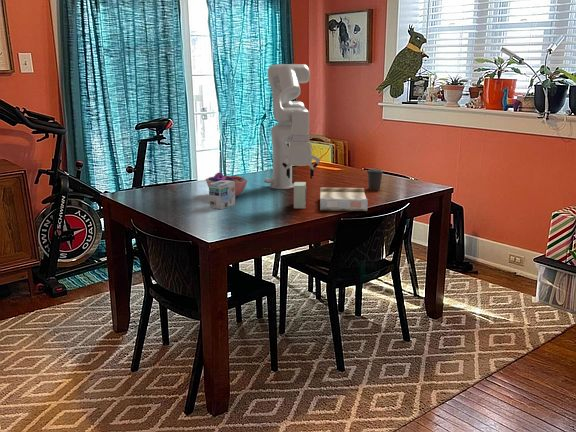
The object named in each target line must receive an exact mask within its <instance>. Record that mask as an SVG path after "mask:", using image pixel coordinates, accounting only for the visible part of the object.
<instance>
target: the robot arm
mask: <svg viewBox="0 0 576 432" xmlns="http://www.w3.org/2000/svg"><path fill="white" fill-rule="evenodd" d="M310 78H311V71H310V68H309V66H308V65H307V64H305V63H303V64H301V63H299V64H298V63H290V64H288V63H279V64H277V63H276V64H272V65H270V66H269V67H268V69H267V79H268V82H269V86H270V89H271V92H272V113H273V118H274V120H275V121H277V122H278V123H277V124H275V125H273V126H272V127H271V129H270V135H271V136H270V137H271V142H272V143H271V144H272V177H270V178H264V180H263V181H264V183H265V184H266V183H267V184H269V187H270V188H272V189H274V190H291V189H294V183H293V167H294V166H295V167H296V166H297V167H300V166H302V167H304V166H305V167H306V166H307V167H309V168H310V170H309V171H310V174H309V175H310V180H312V179H313V177H314V175H315V174H314V170H315V168H316V167H318V166H319V163H320V162H321V158H319V157H317V156H315V155H313V153H312V143H311V141H310V111H309V110H308V109H307V108H306V107H305V104H304V102H302V101H299V100H295V99H297V98H298V97H299V96H300V95H301V92H302V91H301V86H300V85H301V84H306V83H308V82H309V81H310ZM293 100H294V101H293ZM288 144H289V145H288ZM313 160H314V161H315V163H314V164H312V163H313Z"/></svg>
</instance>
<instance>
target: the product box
mask: <svg viewBox="0 0 576 432" xmlns="http://www.w3.org/2000/svg"><path fill="white" fill-rule="evenodd" d="M293 184H294V188H293V209H306V206H305V205H306V203H307V182H306V181H294V183H293Z"/></svg>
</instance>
